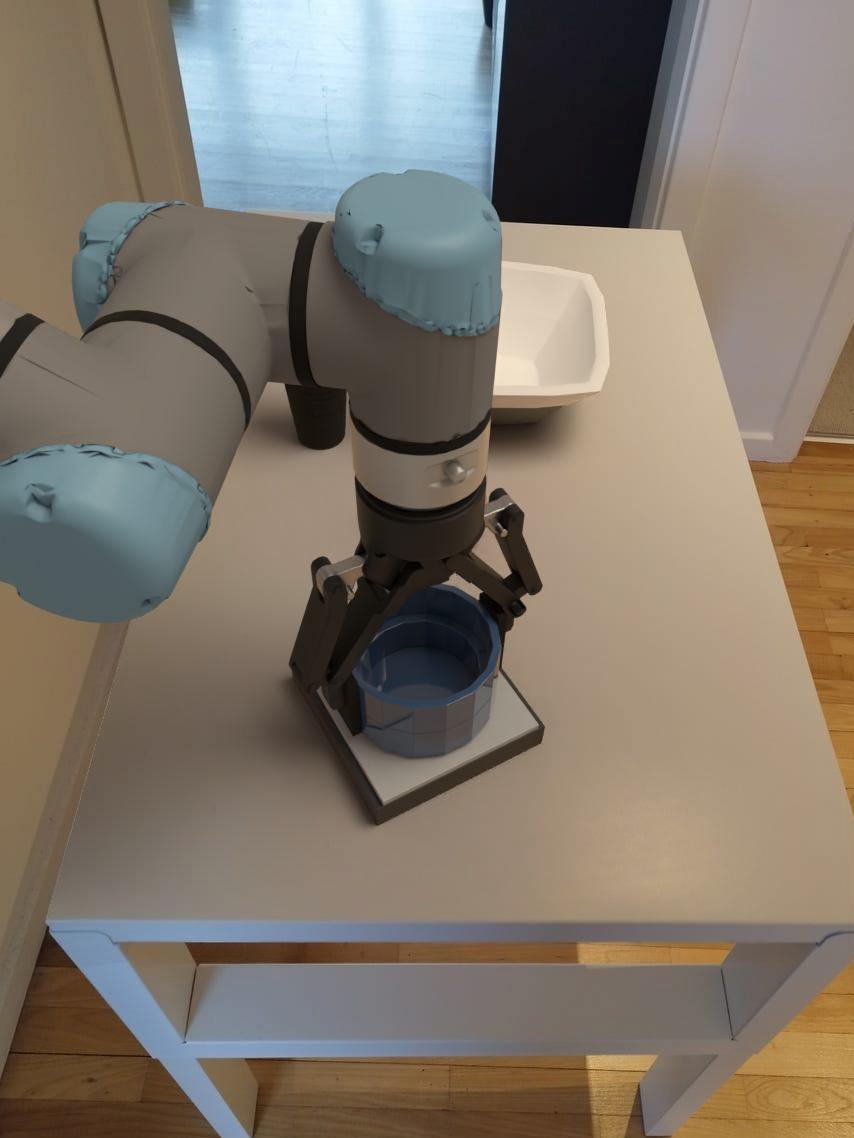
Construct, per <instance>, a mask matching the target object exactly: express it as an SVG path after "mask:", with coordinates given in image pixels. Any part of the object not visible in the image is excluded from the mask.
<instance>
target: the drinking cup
mask: <svg viewBox="0 0 854 1138" xmlns="http://www.w3.org/2000/svg"><path fill="white" fill-rule="evenodd" d="M283 385H284V389H285V393H286V397H287V400H288V406H289V409H290V413H291V417H292V421H293V425H294V429H295V434H296V437H297V439H298V441H299V443H300V444H301V445H303V446H305V447H307V448H309V449H312V450H328V449H331V448H334V447H336V446H338V445H340V444H341V443H342V442H343V440H344V439H345V437H346V429H347V428H346V426H347V399H348V398H347V396H348V392H347V389H341V388H331V387H325V386H323V387H321V388H315V387H307V386H303V385H293V384H284V383H283Z"/></svg>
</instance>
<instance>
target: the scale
mask: <svg viewBox="0 0 854 1138" xmlns="http://www.w3.org/2000/svg"><path fill="white" fill-rule="evenodd" d="M291 674H292V679H293V680H294V682H295V684H296V686H297V687H298V689H299V691H300V692H301V695H302V696H303V698H304V700H305V702H306V703H307V705H308V707H309V709H310V710H311V712H312V714H313V716H314V718H315V719H316V721H317V723H318V724H319V726H320V728H321V729H322V731H323V733H324V735H325V736H326V738H327V740H328V742H329V743H330V745H331V747H332V749H333V750H334V752H335V754H336V755H337V758H338V759H339V761H340V762H341V764H342V766H343V768H344V770H345V771H346V773H347V774H348V777H349V778H350V780H351V782H352V783H353V785H354V787H355V789H356V791H357V792H358V793H359V796H360V798H361V799H362V801H363V803H364V804H365V807H366V809H367V810H368V812H369V813H370V815H371V817H372V818H373V820H374V822H375V824H376V826H380V825H382V824H384V823H386V822H388V821H389V820H391V819H393V818H396V817H397V816H399V815H401V814H403V813H405V812H407V811H409V810H411V809H413V808H415V807H417V806H419V805H421V804H423V803H425V802H427V801H429V800H432V799H433V798H435V797H437V796H439V795H441V794H443V793H445V792H447V791H449V790H451V789H453V788H455V787H458V785H461V784H462V783H464V782H466V781H468V780H471V779H472V778H475V777H476V776H479V775H480V774H483V773H484V772H487V771H488V770H490V769H492V768H494V767H496V766H498V765H500V764H502V763H505V762H506V761H508V760H510V759H512V758H514V757H516V756H518V755H520V754H522V753H524V752H526V751H528V750H529V749H532V748H534V747H536V746H537V745H540V744H542V743H543V739H544V738H543V737H544V735H545V734H544V733H545V729H546V726H545V724H544V723H543V722H542V720H541V719H540V717H539V716H538V715H537V713H536V712H535V710H534V709H533V708H532V706H531V705H530V703H529V702H528V701H527V700H526V698H525V697H524V695H522V693H521V692H520V690H519V689H518V688H517V686H516V685H515V684H514V682H513V681H512V680H511V678H510V677H509V675H508V674H507V673H506V671H505V670H504V668H503V667H502V668H500V669H499V672H498V680H497V688H496V697H495V700H494V704H493V707H492V711H491V714H490V718H489V720H488V722H487V723H486V724H485V725H484V726H483V727H482V728H481V730H480V731H479V732H478V733H477V734H476V735H475V736H474V738H473V739H472V740H471V741H469V742H467V743H465V744H463V745H461V746H459V747H457V748H455V749H453V750H451V751H449V752H447V753H444V754H435V755H425V756H414V757H413V756H409V755H405V754H401V753H396V752H392V751H388V750H385V749H383V748H382V747H380V746H379V745H377V744H376V743H375V742H373V741H372V740H370V739H369V738H367V737H366V736H365V735H363V734H362V733H360V734H358V735H356V736H354V737H353V736H352V734H351V732H350V731H349V729H348V727H347V726H346V724H345V722H344V721H343V719H342V717H341V716H340V714H339V712H338V710H337V709H336V710H333V709H331V708H330V706H329V704H328V703H327V701H326V699H325V698H324V696H323V694H322V691H321V686H320V688H319V689H318V690H317V691H315V692H314V693H311V694H306V693H304V691H303V689H302V688H301V686H300V684H299V683H298V681H297V679H296V677H295V676H294V674H293V672H292V671H291Z"/></svg>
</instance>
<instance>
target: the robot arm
mask: <svg viewBox="0 0 854 1138" xmlns="http://www.w3.org/2000/svg"><path fill="white" fill-rule="evenodd" d="M78 245H79V249H78V252H77V253H75V254H74V255H73V257H72V262H71V288H72V290H71V291H72V301H73V304H74V310H75V313H76V317H77V320H78V323H79V326H80V329H81V331H82V333H83V334H82V336H81V337H80V339H79V338H77V337H76V336H74V335H72V334H70V333H69V332H67V331H64V330H63V329H61V328H59V327H57V326H55V324H52V323H50V322H48V321H46V320H44V319H41V318H40V317H38V316H36V315H34V314H33V313H30V312H27V311H25V310H23V309H22V308H20V307H18V306H16V305H14V304H13V303H11V302H9V301H7V300H6V299H3V298H2V297H0V582H1V583H5V584H8V585H10V586H12V587H14V588H15V589H16V592H17V593H16V594H17V595H18V597H19V598H20V599H21V600H23V601H24V602H26V603H28V604H29V605H32V606H34V607H35V608H38V609H40V610H43V611H45V612H48V613H49V614H53V615H55V616H58V617H62V618H65V619H70V620H73V621H80V622H84V623H85V622H86V623H96V624H113V623H123V622H127V621H131V620H132V621H133V620H135V619H138V618H141V617H143V616H145V615H147V614H149V613H152V612H153V611H154V610H156V609H157V608H158V607H159V606H160V605H161V604H163V602H165V601H166V600H167V599H169V598H170V597H171V595H172V594H173V593H174V591H175V588H176V587H177V585H178V583H179V581H180V578H181V577H182V574H183V572H184V571H185V569H186V567H187V565H188V564H189V561H190V559H191V557H192V555H193V553H194V551H195V549H196V548H197V545H198V543H200V542H201V541H203V539H204V538H205V536H206V535H207V533H208V531H209V529H210V527H211V523H212V514H213V510H214V507H215V505H216V502H217V500H218V498H219V494H220V492H221V490H222V488H223V485H224V482H225V480H226V478H227V475H228V473H229V470H230V468H231V465H232V463H233V461H234V458H235V456H236V454H237V451H238V449H239V447H240V444H241V442H242V439H243V437H244V434H245V433H246V431H247V429H248V427H249V425H250V423H251V421H252V419H253V415H254V414H255V412H256V410H257V407H258V404H259V403H260V401H261V398H262V396H263V393H264V391H265V388H266V386H267V385H268V383H276V384H283V385H284V384H293V385H303V386H307V387H315V388H321V387H323V386H325V387H331V388H341V389H347V396H348V413H349V423H350V436H351V453H352V454H351V455H352V465H353V466H352V469H353V472H354V486H355V487H354V489H355V500H356V501H355V502H356V503H355V504H356V516H357V524H358V530H359V534H360V535H359V536H360V538H359V542H358V544H357V546H356V547H355V550H354V554H353V556H350V557H348V558H345V559H342V560H340V561H337V562H334V563H332V561H331V560H330V559H329V557H327V556H323V555H322V556H318V557H317V558H315V559H314V560H312V562H311V564H310V573H311V581H312V587H311V591H310V594H309V597H308V601H307V604H306V606H305V609H304V612H303V616H302V619H301V622H300V625H299V629H298V632H297V635H296V638H295V641H294V645H293V648H292V652H291V654H290V657H289V661H288V667H289V668H290V671H291V673H292V672H293V674H294V676H295V677H296V679H297V681H298V683H299V684H300V686H301V688H302V689H303V691H304V693H306V694H311V693H314V692H315V691H317V690H318V689H319V688H320V686H321V691H322V694H323V696H324V698H325V699H326V701H327V703H328V704H329V706H330V708H331V709H333V710H336V709H337V710H338V712H339V714H340V716H341V717H342V719H343V721H344V722H345V724H346V726H347V727H348V729H349V731H350V732H351V734H352V736H353V737H354V736H356V735H358V734H360V733H362V723H361V713H360V703H359V692H358V682H357V680H356V678H355V677H354V675H353V674H352V671H353V669H354V668H355V666H356V665H357V663H358V662H359V660H360V659H361V657H362V656H363V654H364V653H365V651H366V650H367V648H368V647H369V645H370V643H371V642H372V640H373V639H374V637H375V636H376V634H377V633H378V631H379V630H380V628H381V627H382V625H383V624H384V622H385V621H386V619H387V618H388V616H395V615H396V614H397V613H398V612H399V610H400V609H401V607H402V606H403V604H404V603H405V601H406V600H407V598H408V597H410V596H412V595H415V594H417V593H419V592H421V591H422V590H424V589H426V588H427V587H429V586H434V585H439V584H441V583H442V584H445V583H446V582H449V581H450V577H451V576H453V575H454V574H456V575H457V576H459V577H460V578H461V579H462V580H464V581H465V582H467V584H472V585H474V587H476V588H478V589H479V590H480V591H481V592H480V593H479V594H478V595H479V596H478V600H479V601H480V602H481V603H482V604H483V605H484V607H485V608H486V609H487V611H488V612H489V613H490V614H491V616H492V617H493V618H494V620H495V621H496V623H497V627H498V631H499V636H500V641H501V646H502V647H501V656H500V664H499V669H500V668H502V669H503V667H502V666H503V658H504V651H505V642H506V633H508V632H510V631H512V629H513V628H514V624H515V619H518V618H520V617H523V615H524V614H526V611H527V608H528V607H527V605H525V604H524V602H523V601H522V600H521V599H522V598H523V597H525V595H529V596H531V597H533V596H536V595H537V594H539V593H540V592H541V590H542V589H543V582H542V579H541V577H540V575H539V571H538V569H537V567H536V565H535V562H534V559H533V556H532V555H531V552H530V549H529V547H528V544H527V542H526V538H525V537H524V534H523V531H524V522H525V512H524V511H523V510H522V508H521V507H520V506H519V505H518V504H517V502H516V501H515V500H514V499H513V498H512V497H511V495H509V493H508V492H507V491H506V489H504V488H503V487H497V488H495V489H494V490H492V491H491V492H490V493H489V496H488V500H487V504H485V497H487V483H488V481H487V479H488V478H487V472H488V461H489V460H488V459H489V450H490V448H489V446H490V436H491V425H492V424H491V410H492V400H493V389H494V379H495V368H496V358H497V347H498V337H499V326H500V316H501V305H502V296H503V293H502V289H501V265H502V261H503V260H502V258H503V255H502V254H503V233H502V225H501V220H500V217H499V215H498V213H497V209H496V208H495V207H494V205H493V203H492V202H491V201H490V199H489V198H488V197H487V196H486V195H485V194H484V193H483V192H481V190H479V189H478V188H477V187H475V186H474V185H472V184H470V183H469V182H467V181H465V180H462V179H461V178H458V177H456V176H453V175H450V174H447V173H444V172H439V171H433V170H428V169H418V168H417V169H416V168H415V169H414V168H412V169H411V168H409V169H407V170H406V171H404V172H403V173H395V174H394V173H392V172H384V171H382V172H379V173H374V174H371V175H368V176H366V177H363V178H361V179H359V180H357V181H356V182H355V183H353V184H352V185H350V186H349V187H348V188H347V189H346V190H345V191H344V192H343V194H341V196H340V197H339V200H338V201H337V204H336V206H335V211H334V220H327V221H325V222H321V221H313V220H308V219H300V218H292V217H285V216H277V215H270V214H264V213H263V214H262V213H256V212H255V213H254V212H248V211H239V210H232V209H223V208H215V207H209V206H208V207H207V206H201V205H193V204H191V203H189V202H186V203H185V202H182V201H178V200H172V201H171V202H169V201H159V202H142V201H141V202H137V201H119V200H118V201H111V202H107V203H104V204H103V205H101V206H99V207H97V208H96V209H95V210H93V211H92V212H91V213H90V214H89V215H88V216H87V218H86V219H85V221H84V223H83V225H82V226H81V228H80V230H79V232H78ZM486 528H487V529H488V530H489V532H490V533H491V534H493V536H494V538H495V540H496V542H497V544H498V546H499V549H500V551H501V553H502V555H503V558H504V560H505V562H506V564H507V566H508V568H509V571H510V574H509V575H507V576H506V577H503V576H502V575H501V574H500V573H498V572H497V571H496V570H495V569H494V568H492V566H490V565H489V564H488V563H487V562H485V561H484V560H483V559H482V558H480V557H479V556H478V555H477V554H475V552H473V551H472V550H473V549H474V548H475V546H476V545H477V544H478V542H479V541H480V539H481V538H482V537H483V535H484V532H485V530H486ZM355 584H356V585H357V586H356V587H357V588H356V590H355V592H354V591H353V590H354V588H355ZM385 589H387V590H388V591H389V593H387V591H386V590H385Z"/></svg>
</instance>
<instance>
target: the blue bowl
mask: <svg viewBox="0 0 854 1138" xmlns="http://www.w3.org/2000/svg"><path fill="white" fill-rule="evenodd" d="M385 590H386V591H387V593H389V591H388V590H387V589H385ZM501 647H502V646H501V641H500V636H499V631H498V627H497V623H496V621H495V620H494V618H493V617H492V616H491V614H490V613H489V612H488V611H487V609H486V608H485V607H484V605H483V604H482V603H481V602H480V601H479V599H477V598H476V597H475V596H472V595H471V594H470V593H468V592H466V591H465V590H463V589H461V588H459V587H458V586H455V585H450V584H445V583H441V584H439V585H434V586H429V587H427V588H426V589H424V590H422V591H421V592H419V593H417V594H415V595H412V596H410V597H408V598H407V600H406V601H405V603H404V604H403V606H402V607H401V609H400V610H399V612H398V613H397V614H396V615H395V616H388V618H387V619H386V621H385V622H384V624H383V625H382V627H381V628H380V630H379V631H378V633H377V634H376V636H375V637H374V639H373V640H372V642H371V643H370V645H369V647H368V648H367V650H366V651H365V653H364V654H363V656H362V657H361V659H360V660H359V662H358V663H357V665H356V666H355V668H354V669H353V671H352V674H353V675H354V677H355V678H356V680H357V682H358V692H359V703H360V713H361V723H362V734H363V735H365V736H366V737H367V738H369V739H370V740H372V741H373V742H375V743H376V744H377V745H379V746H380V747H382V748H383V749H385V750H388V751H392V752H396V753H401V754H405V755H409V756H413V757H414V756H425V755H435V754H444V753H447V752H449V751H451V750H453V749H455V748H457V747H459V746H461V745H463V744H465V743H467V742H469V741H471V740H472V739H473V738H474V736H475V735H476V734H477V733H478V732H479V731H480V730H481V728H482V727H483V726H484V725H485V724H486V723H487V722H488V720H489V718H490V714H491V711H492V707H493V704H494V700H495V697H496V688H497V680H498V672H499V664H500V656H501Z"/></svg>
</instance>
